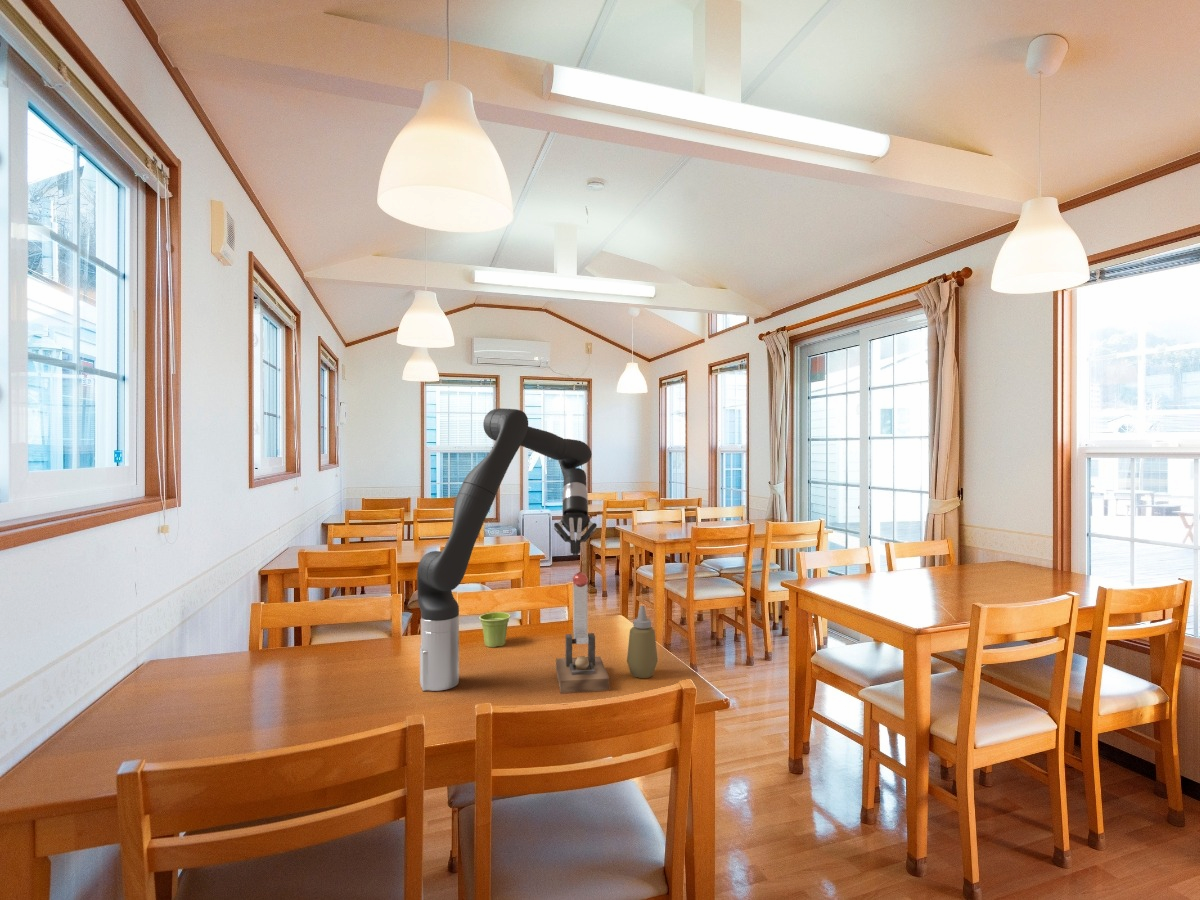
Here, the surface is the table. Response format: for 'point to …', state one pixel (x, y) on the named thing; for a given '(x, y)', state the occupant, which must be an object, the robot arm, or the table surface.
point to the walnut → (582, 663)
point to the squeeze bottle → (642, 647)
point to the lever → (580, 608)
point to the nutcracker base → (581, 679)
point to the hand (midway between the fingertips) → (575, 554)
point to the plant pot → (494, 628)
